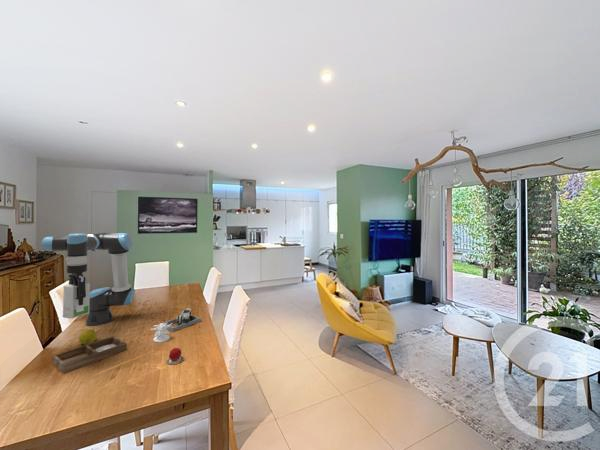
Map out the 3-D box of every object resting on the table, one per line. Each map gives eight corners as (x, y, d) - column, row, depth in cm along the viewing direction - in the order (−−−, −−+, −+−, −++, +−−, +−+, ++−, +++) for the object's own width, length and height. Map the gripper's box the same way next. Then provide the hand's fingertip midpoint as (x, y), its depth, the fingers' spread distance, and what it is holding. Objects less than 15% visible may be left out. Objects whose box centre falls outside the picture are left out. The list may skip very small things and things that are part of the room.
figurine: (172, 334, 157) (172, 318, 157) (172, 340, 149) (172, 323, 149) (150, 338, 152) (150, 321, 152) (149, 344, 144) (149, 326, 144)
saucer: (91, 351, 133) (91, 349, 133) (112, 344, 141) (112, 341, 141) (98, 357, 128) (98, 354, 128) (119, 349, 136) (119, 346, 136)
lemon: (93, 346, 141) (93, 332, 141) (75, 349, 137) (76, 335, 137) (99, 338, 151) (99, 325, 150) (82, 340, 147) (83, 327, 147)
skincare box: (71, 319, 119) (72, 287, 119) (61, 317, 120) (62, 285, 120) (90, 313, 127) (90, 283, 127) (80, 311, 129) (80, 281, 128)
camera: (178, 319, 182) (179, 305, 182) (191, 318, 185) (192, 305, 185) (175, 328, 167) (176, 313, 167) (189, 326, 170) (190, 312, 170)
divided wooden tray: (52, 364, 122) (52, 355, 122) (113, 343, 144) (113, 335, 144) (63, 375, 114) (63, 365, 114) (126, 351, 136) (126, 343, 136)
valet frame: (160, 327, 168) (160, 323, 168) (188, 317, 186) (188, 314, 186) (172, 332, 161) (172, 328, 161) (200, 321, 178) (200, 318, 178)
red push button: (172, 367, 122) (172, 353, 122) (163, 361, 126) (163, 349, 126) (186, 359, 129) (187, 347, 129) (177, 355, 133) (178, 343, 133)
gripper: (60, 263, 126) (59, 307, 126) (75, 267, 115) (74, 316, 115) (78, 261, 132) (78, 304, 132) (94, 265, 122) (94, 311, 122)
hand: (76, 309), depth 124 cm, fingers closed on skincare box, 8 cm apart
